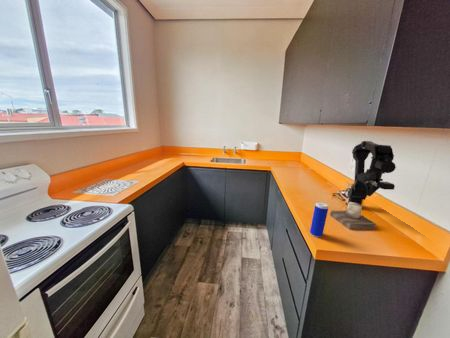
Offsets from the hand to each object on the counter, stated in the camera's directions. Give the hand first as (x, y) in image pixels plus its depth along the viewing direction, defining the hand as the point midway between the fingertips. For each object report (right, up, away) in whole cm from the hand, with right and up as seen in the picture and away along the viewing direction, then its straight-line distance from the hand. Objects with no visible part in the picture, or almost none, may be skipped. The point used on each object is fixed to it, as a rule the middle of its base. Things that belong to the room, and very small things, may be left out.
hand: (368, 195), depth 99 cm
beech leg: (-12, -13, -3) cm, 18 cm away
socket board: (-12, -13, -3) cm, 18 cm away
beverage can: (-38, -15, -17) cm, 44 cm away
